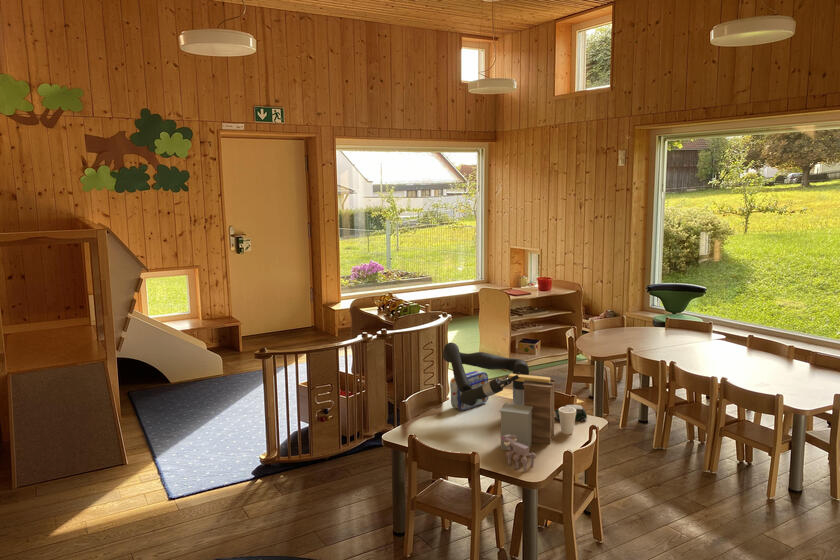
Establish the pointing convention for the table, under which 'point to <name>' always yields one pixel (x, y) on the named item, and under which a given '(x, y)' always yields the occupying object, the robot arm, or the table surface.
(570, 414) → the foam cup
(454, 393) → the lunch box
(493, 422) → the table surface
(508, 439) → the toy sheep
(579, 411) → the miniature car
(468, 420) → the table surface
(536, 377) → the slat
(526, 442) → the grey upright carton
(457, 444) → the table surface
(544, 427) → the cabinet
